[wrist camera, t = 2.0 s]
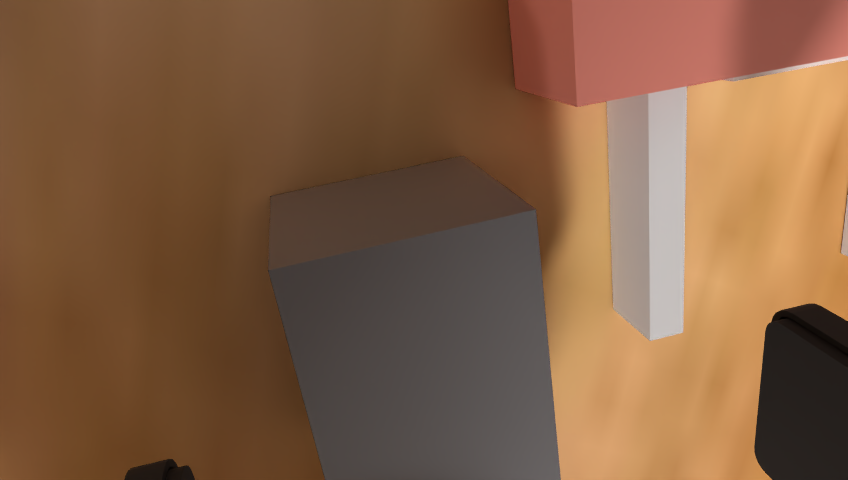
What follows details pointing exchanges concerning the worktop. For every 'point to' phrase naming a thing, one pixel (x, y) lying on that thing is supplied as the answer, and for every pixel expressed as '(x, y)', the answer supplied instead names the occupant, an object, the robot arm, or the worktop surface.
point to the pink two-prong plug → (660, 107)
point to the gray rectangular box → (417, 325)
